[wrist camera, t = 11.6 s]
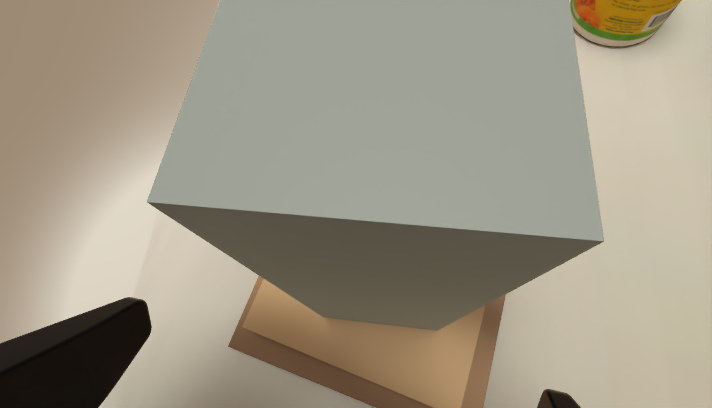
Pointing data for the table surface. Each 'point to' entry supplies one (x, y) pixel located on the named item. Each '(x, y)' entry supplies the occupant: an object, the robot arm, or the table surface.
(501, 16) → the slate block
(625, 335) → the table surface
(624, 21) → the supplement bottle
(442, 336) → the oak top slab
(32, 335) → the robot arm
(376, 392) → the walnut base slab
